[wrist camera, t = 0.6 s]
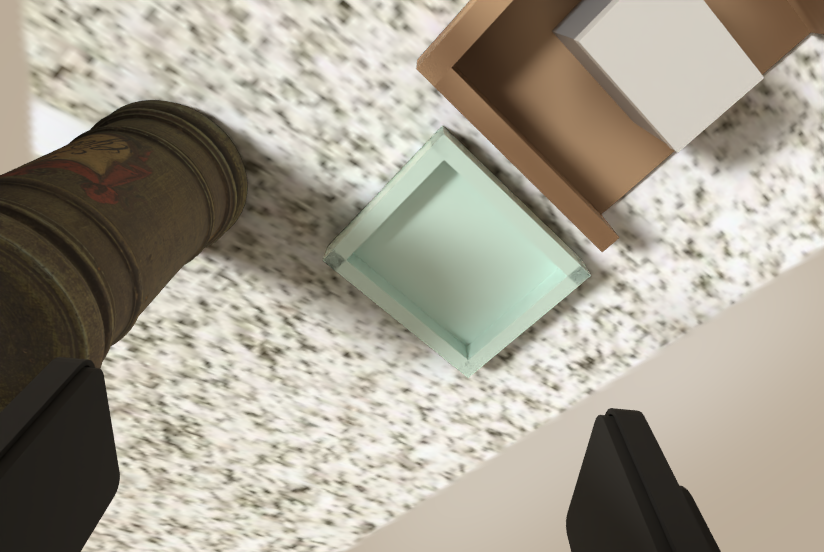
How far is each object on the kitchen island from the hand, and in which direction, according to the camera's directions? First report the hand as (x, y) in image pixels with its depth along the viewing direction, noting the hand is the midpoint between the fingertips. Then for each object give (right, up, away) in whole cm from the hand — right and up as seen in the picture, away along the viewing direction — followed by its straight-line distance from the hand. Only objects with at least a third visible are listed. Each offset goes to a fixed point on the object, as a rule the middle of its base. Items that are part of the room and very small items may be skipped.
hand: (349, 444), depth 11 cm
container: (-13, +9, +25) cm, 29 cm away
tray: (+4, +5, +26) cm, 27 cm away
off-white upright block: (+13, +16, +20) cm, 29 cm away
